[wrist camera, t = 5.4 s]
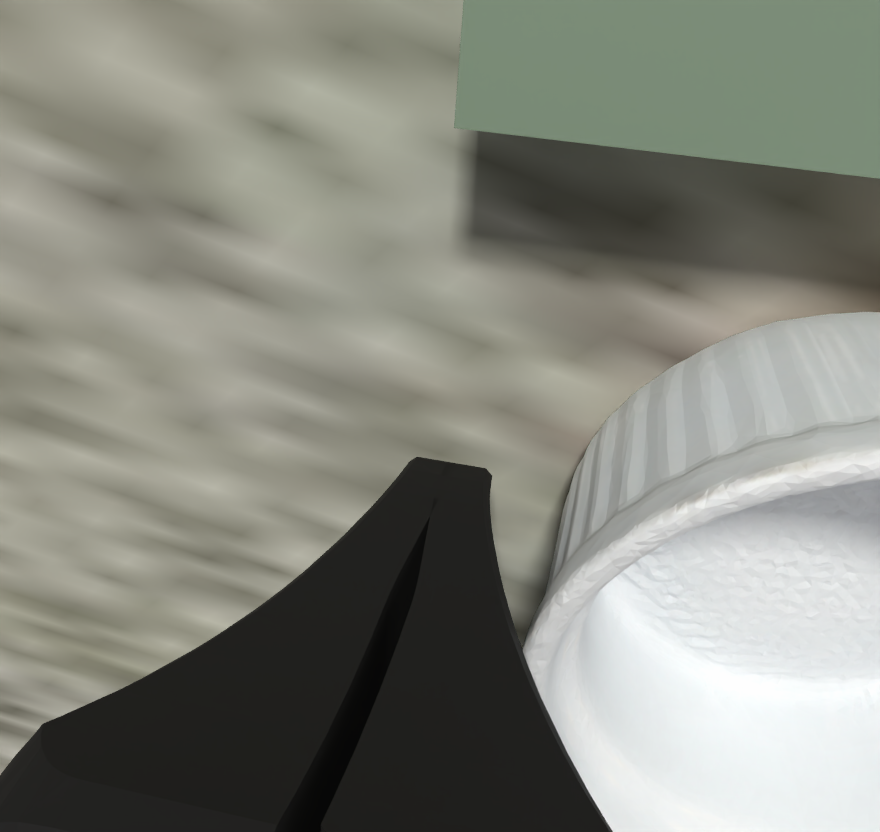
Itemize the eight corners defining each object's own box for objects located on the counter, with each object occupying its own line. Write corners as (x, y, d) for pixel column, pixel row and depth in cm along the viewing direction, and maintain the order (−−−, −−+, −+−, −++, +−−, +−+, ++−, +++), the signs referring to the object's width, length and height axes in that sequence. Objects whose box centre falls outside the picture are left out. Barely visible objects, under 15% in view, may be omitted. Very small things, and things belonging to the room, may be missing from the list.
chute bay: (976, 854, 17) (1015, 958, 15) (421, 735, 18) (401, 818, 16) (1706, 12, 8) (1997, 43, 6) (497, -90, 9) (470, -89, 8)
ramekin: (1185, 637, 13) (1402, 922, 9) (661, 733, 16) (672, 963, 13) (1075, 144, 9) (1357, 296, 6) (446, 406, 13) (381, 596, 10)
